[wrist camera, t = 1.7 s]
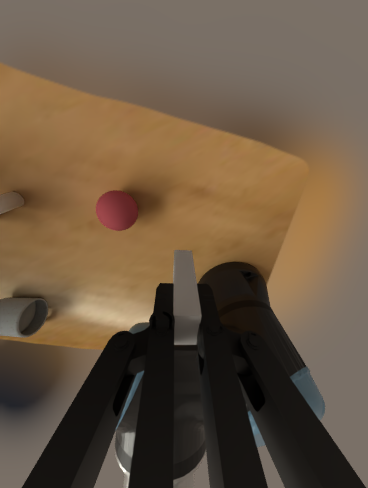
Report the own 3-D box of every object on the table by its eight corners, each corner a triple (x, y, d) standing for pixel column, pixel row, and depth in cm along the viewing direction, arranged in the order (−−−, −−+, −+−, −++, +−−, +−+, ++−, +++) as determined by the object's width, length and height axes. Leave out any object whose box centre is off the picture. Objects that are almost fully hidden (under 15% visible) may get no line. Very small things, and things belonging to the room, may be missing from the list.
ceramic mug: (1, 290, 37) (-37, 322, 30) (41, 290, 37) (12, 322, 31) (23, 320, 42) (-5, 353, 36) (57, 320, 43) (35, 352, 36)
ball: (148, 212, 29) (142, 226, 24) (119, 226, 30) (107, 243, 25) (127, 179, 26) (115, 188, 21) (96, 197, 28) (78, 208, 22)
